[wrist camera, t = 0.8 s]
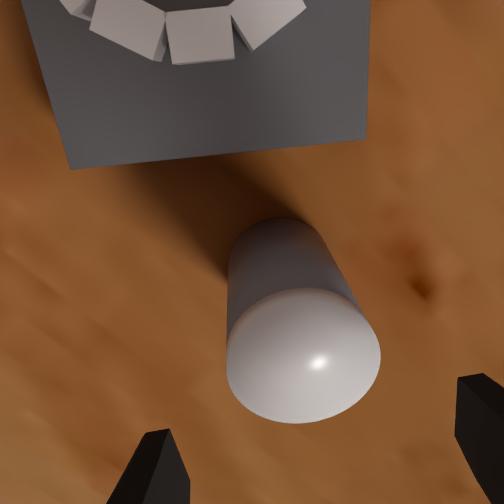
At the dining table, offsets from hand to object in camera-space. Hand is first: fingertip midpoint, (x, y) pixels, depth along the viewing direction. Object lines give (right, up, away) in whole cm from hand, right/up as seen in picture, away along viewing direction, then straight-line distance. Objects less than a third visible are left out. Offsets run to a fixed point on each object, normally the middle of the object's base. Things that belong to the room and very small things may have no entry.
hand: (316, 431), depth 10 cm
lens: (0, +4, +9) cm, 9 cm away
